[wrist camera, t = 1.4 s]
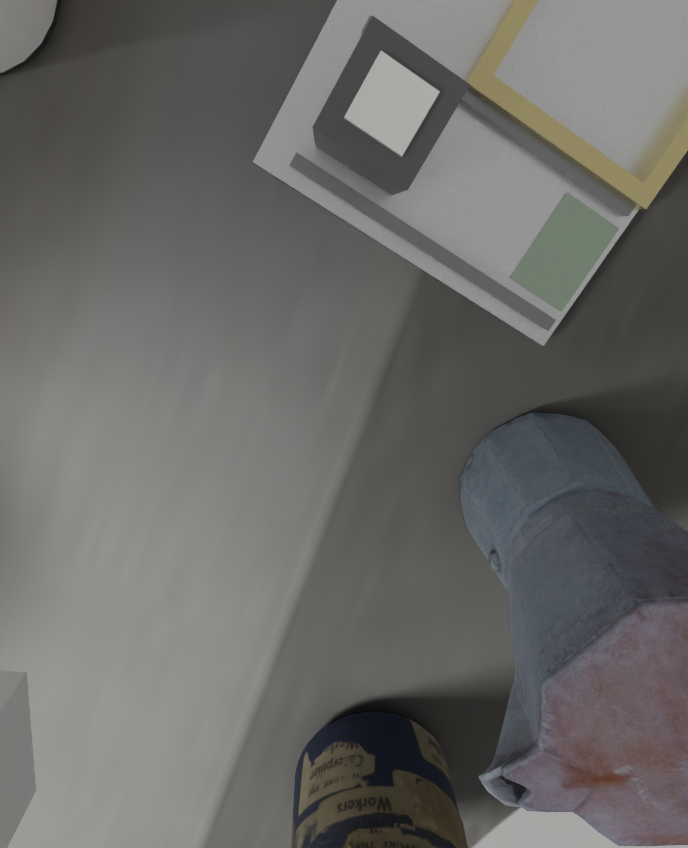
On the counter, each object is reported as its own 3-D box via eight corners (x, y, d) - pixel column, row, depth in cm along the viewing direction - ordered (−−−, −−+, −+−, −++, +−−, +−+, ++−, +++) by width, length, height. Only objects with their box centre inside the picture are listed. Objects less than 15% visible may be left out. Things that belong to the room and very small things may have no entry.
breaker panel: (256, 164, 29) (249, 159, 27) (463, -231, 25) (478, -282, 23) (533, 340, 32) (551, 351, 30) (760, 12, 28) (804, -8, 26)
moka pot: (376, 478, 34) (440, 798, 15) (640, 334, 32) (1090, 498, 13) (456, 608, 37) (595, 1019, 18) (704, 483, 35) (1155, 796, 16)
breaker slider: (314, 144, 28) (312, 125, 22) (363, 55, 27) (373, 12, 21) (392, 195, 28) (409, 189, 23) (442, 110, 27) (472, 82, 22)
